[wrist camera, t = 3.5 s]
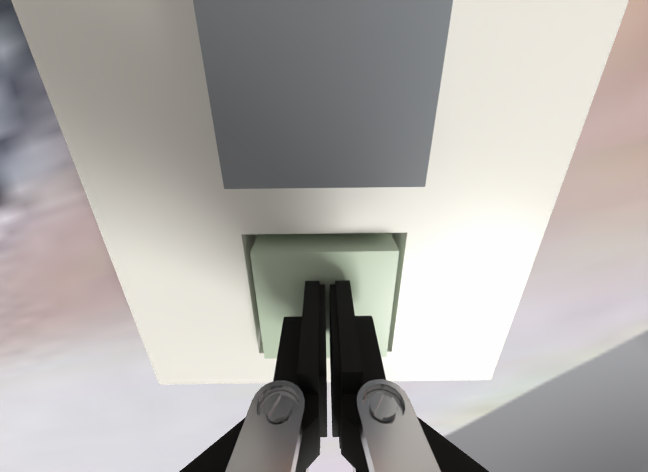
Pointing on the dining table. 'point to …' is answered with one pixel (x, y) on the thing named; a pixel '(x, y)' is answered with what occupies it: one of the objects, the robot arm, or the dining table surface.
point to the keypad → (320, 203)
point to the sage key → (323, 278)
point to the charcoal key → (323, 89)
